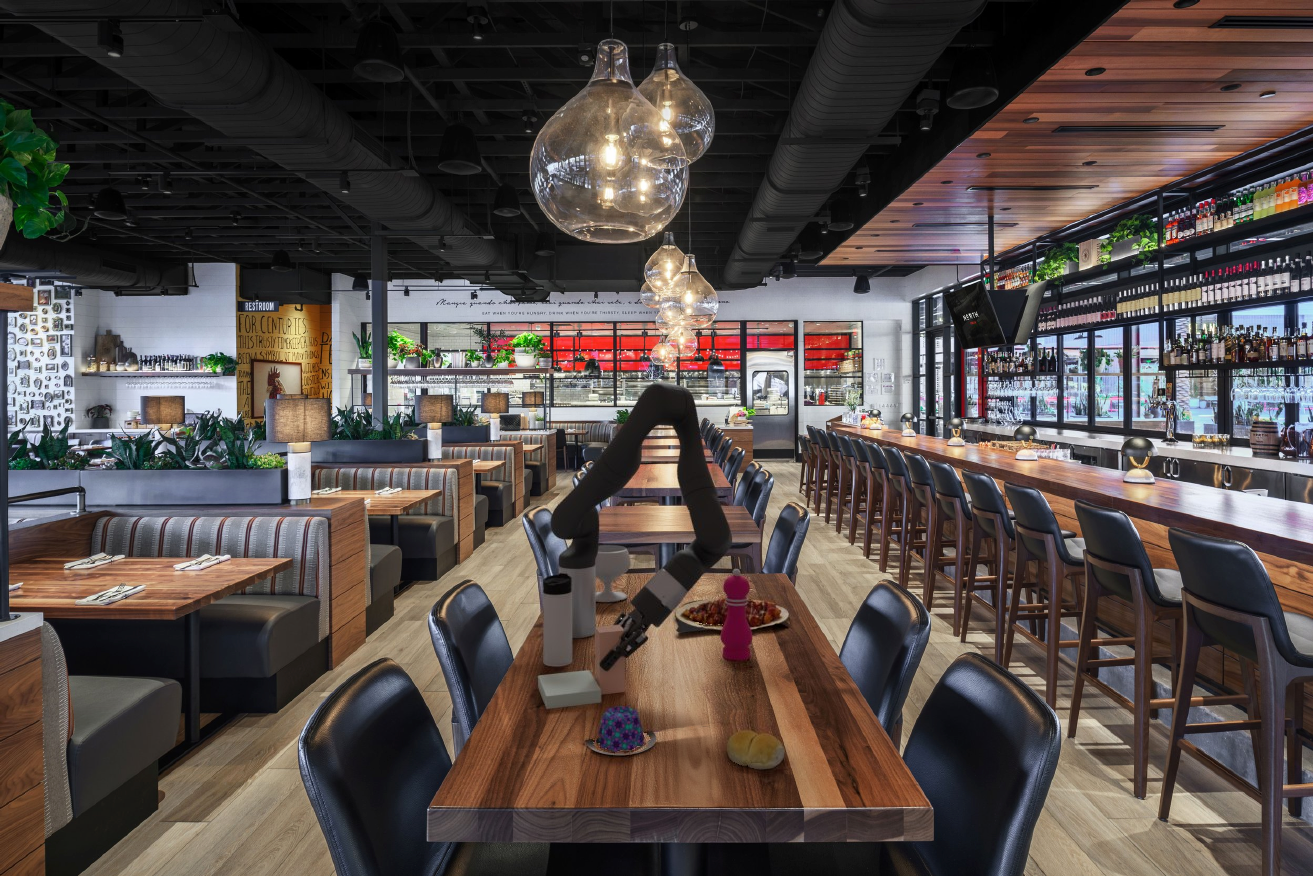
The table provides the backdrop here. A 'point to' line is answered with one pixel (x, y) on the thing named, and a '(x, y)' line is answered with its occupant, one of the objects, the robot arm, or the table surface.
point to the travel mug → (557, 620)
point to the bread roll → (755, 750)
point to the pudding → (621, 731)
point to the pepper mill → (736, 619)
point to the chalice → (611, 570)
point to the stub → (603, 644)
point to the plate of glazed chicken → (718, 611)
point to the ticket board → (569, 689)
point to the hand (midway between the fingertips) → (600, 664)
